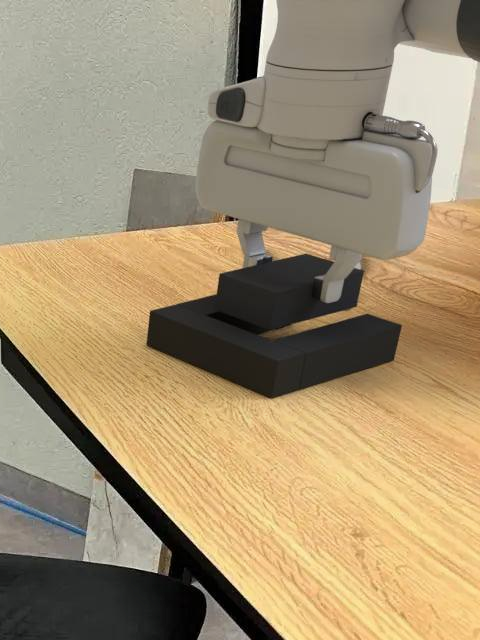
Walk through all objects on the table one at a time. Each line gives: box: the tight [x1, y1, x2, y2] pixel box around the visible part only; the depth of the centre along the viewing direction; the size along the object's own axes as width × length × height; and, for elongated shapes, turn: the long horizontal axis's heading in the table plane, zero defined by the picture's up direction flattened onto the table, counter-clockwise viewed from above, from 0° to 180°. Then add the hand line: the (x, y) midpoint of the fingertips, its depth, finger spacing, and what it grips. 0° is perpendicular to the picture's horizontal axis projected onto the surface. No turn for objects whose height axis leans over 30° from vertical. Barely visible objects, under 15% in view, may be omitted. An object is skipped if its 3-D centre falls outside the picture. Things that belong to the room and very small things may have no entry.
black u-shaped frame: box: [146, 293, 403, 399], centre depth 94 cm, size 14×14×3 cm
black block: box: [215, 253, 365, 331], centre depth 93 cm, size 10×6×3 cm, turn 121°
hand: (288, 287), depth 93 cm, fingers closed on black block, 6 cm apart
